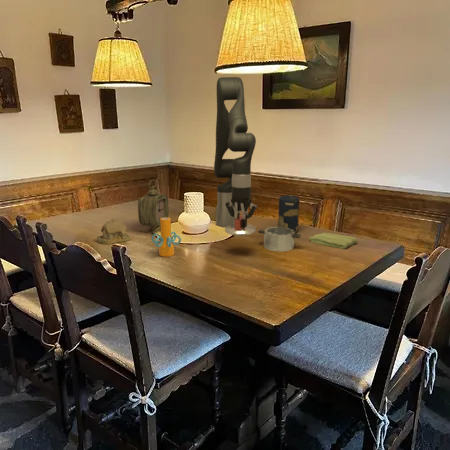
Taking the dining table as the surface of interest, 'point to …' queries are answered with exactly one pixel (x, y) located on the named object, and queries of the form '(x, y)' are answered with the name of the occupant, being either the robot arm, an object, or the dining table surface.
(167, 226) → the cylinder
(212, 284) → the dining table surface
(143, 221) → the tabletop clock
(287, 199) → the canister
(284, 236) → the pot
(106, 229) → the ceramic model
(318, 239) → the washcloth
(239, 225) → the lid
